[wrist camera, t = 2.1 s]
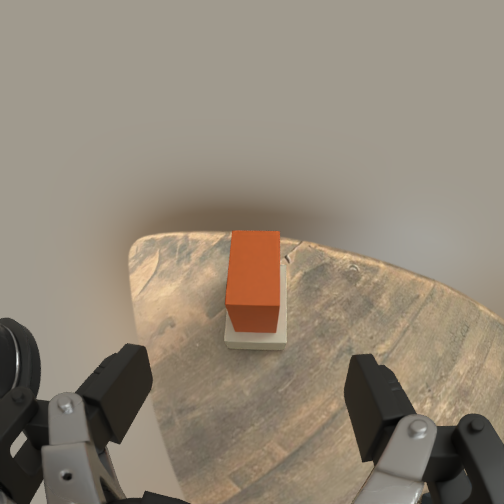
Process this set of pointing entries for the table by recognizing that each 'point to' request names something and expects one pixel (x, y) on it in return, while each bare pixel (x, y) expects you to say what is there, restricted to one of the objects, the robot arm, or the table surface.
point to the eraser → (256, 292)
